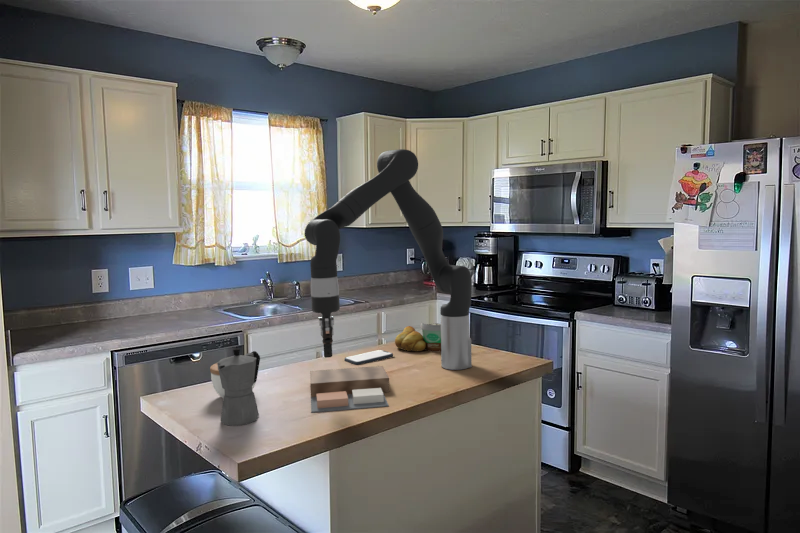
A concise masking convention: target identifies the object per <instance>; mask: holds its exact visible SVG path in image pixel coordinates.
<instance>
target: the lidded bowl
mask: <svg viewBox="0 0 800 533" xmlns="http://www.w3.org/2000/svg"><path fill="white" fill-rule="evenodd" d="M209 370H210V379H211V384H212V387H213V389H214V392H216V394H218V396H220V397H221V398H222V400H223V397H224V395H225V389H223V388H222V384H221V379H220V374H219V370H218V365H217V362H216V363H214V364H212V365H210V368H209ZM256 383H257V381H256V382H255V383H254V384H253V386H252V391H253V390H254V388H255V386H256Z"/></svg>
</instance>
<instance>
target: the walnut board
mask: <svg viewBox="0 0 800 533" xmlns="http://www.w3.org/2000/svg"><path fill="white" fill-rule="evenodd" d="M309 374H310V375H309V379H310V380H309V382H310V383H309V384H310V385H309V386H310V398H311V397H316V394H318V393H330V392H343V391H346V393H347V394H352V390H357V389H371V388H381V389H382V392H383V393H387V392H388V393H389V392H390V377H389V375H388V373H387V371H386V369H385V367H384V366H383V365H377V366H362V367H359V366H358V367H349V368H348V367H346V368H344V367H343V368H333V369H332V368H331V369H317V370H310V371H309Z"/></svg>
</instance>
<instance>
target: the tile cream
mask: <svg viewBox="0 0 800 533" xmlns="http://www.w3.org/2000/svg"><path fill="white" fill-rule="evenodd" d="M383 394H384V392H382V389H381V388H371V389H357V390H352V398H353V403H354V404H363V403H376V402H384V396H385V394H384V395H383Z"/></svg>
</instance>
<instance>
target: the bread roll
mask: <svg viewBox="0 0 800 533" xmlns="http://www.w3.org/2000/svg"><path fill="white" fill-rule="evenodd" d="M394 344H395V347H396V348H398V349H399V350H404V351H406V350H407V352H411V350H412V351H413V352H421V351H424V350H425V347H426V343H425V342H424V338H423V334H421V333H420V332H419V331H416V329H415V328H414V326H411V325H408V326H406V327H404V329H403V331H401V332H400V333H399V334H398V335H396V337H395V339H394Z"/></svg>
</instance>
